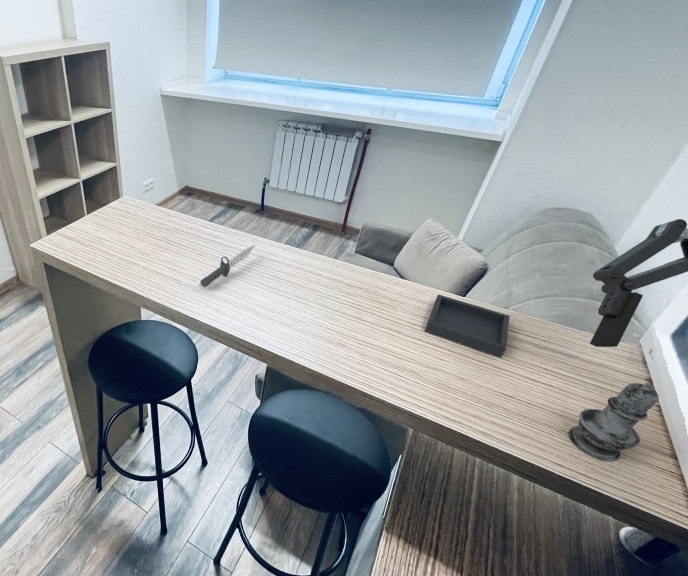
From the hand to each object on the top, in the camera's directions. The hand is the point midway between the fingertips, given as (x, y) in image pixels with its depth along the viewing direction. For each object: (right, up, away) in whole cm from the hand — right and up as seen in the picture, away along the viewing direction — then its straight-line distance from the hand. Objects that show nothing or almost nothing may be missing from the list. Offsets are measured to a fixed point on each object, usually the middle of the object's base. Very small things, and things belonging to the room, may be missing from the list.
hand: (669, 376), depth 45 cm
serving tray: (-1, +2, +30) cm, 30 cm away
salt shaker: (+2, -11, +10) cm, 16 cm away
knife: (-42, +13, +47) cm, 64 cm away
